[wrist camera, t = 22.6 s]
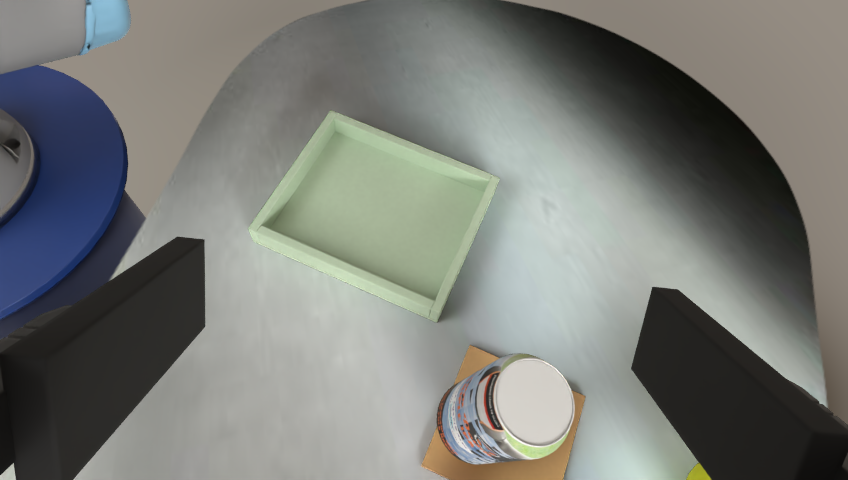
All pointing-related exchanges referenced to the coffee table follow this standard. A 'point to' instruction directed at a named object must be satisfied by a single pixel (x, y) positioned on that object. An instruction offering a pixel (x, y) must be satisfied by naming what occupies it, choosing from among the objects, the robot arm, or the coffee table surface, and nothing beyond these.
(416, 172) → the tray
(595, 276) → the coffee table surface
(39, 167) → the robot arm
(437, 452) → the coaster
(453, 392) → the beverage can
